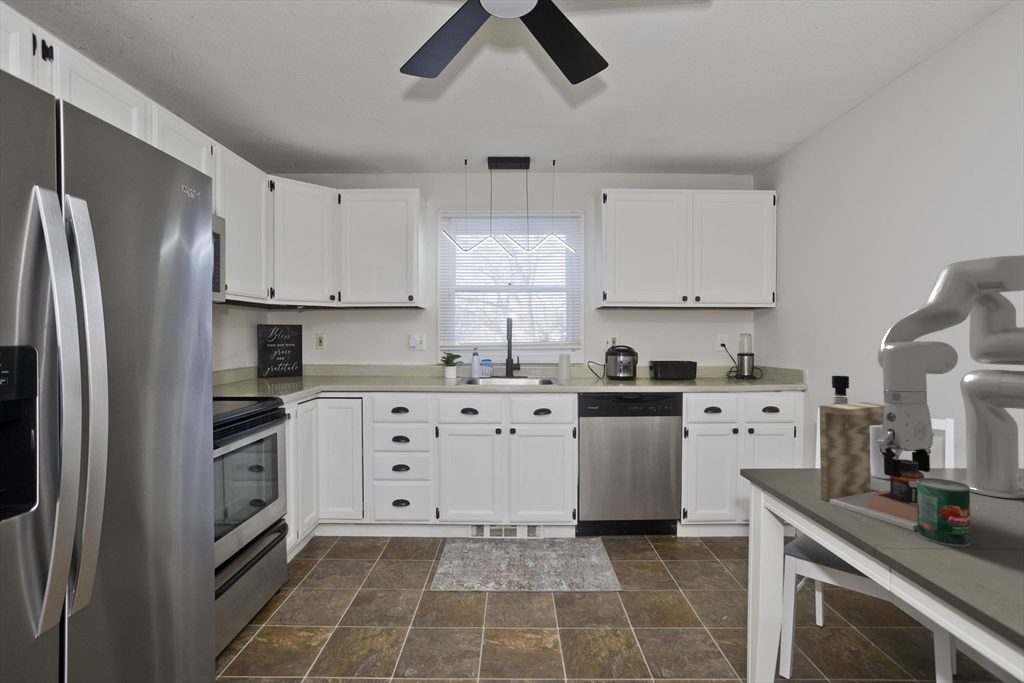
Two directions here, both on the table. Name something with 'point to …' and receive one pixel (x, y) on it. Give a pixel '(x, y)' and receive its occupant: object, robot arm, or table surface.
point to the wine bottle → (840, 388)
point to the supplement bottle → (906, 483)
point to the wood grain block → (846, 448)
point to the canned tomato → (943, 511)
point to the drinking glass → (877, 453)
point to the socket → (881, 508)
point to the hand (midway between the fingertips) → (907, 473)
